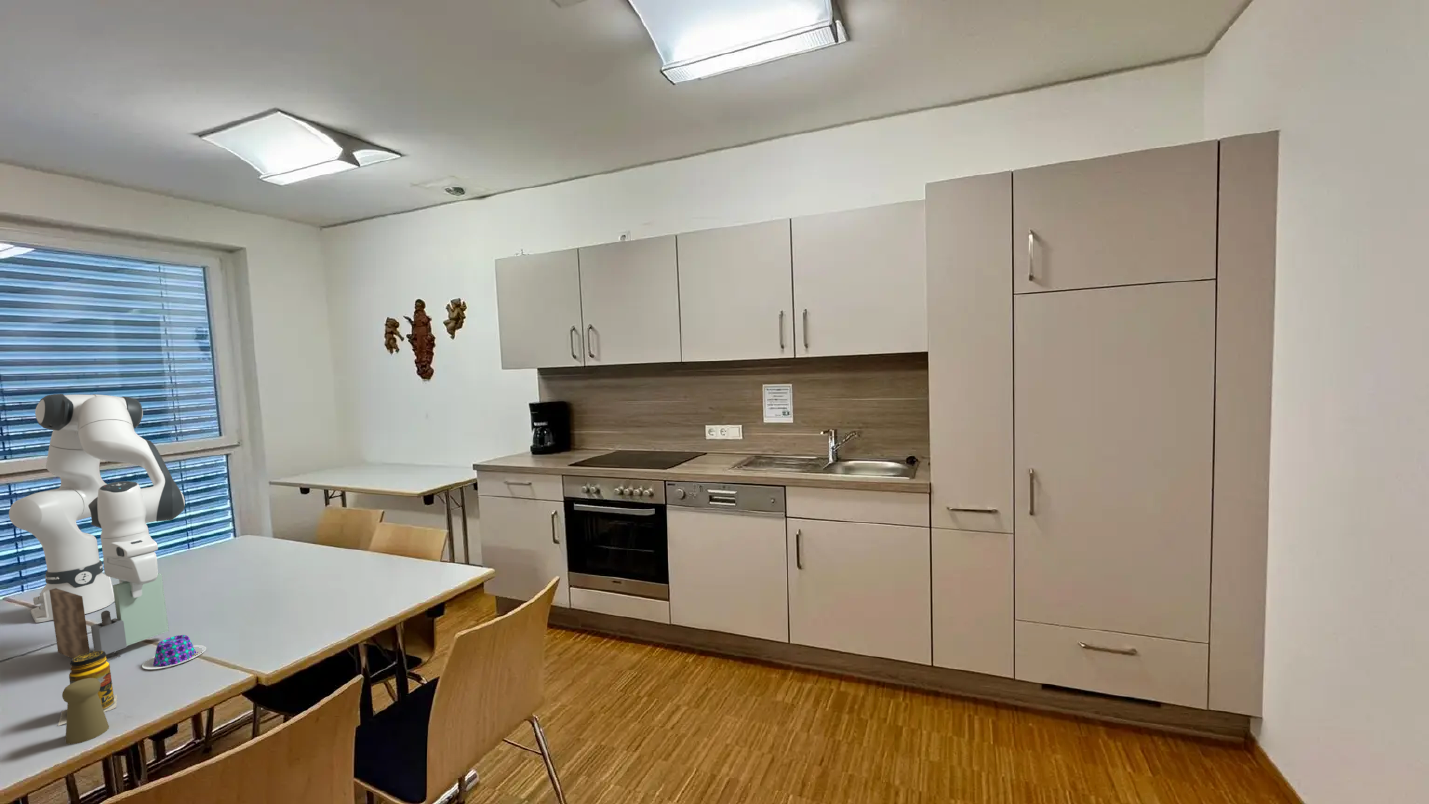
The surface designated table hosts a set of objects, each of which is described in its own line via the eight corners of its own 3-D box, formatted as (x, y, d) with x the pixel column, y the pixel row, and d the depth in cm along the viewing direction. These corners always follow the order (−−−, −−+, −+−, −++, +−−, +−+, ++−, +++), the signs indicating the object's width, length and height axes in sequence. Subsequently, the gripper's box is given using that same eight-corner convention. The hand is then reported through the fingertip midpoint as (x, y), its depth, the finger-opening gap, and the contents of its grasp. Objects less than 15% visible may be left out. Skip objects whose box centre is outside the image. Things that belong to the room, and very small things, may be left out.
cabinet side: (58, 652, 155) (49, 590, 154) (85, 643, 160) (77, 582, 159) (91, 666, 146) (83, 600, 145) (120, 656, 151) (112, 592, 150)
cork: (117, 725, 121) (111, 673, 120) (83, 744, 115) (76, 690, 114) (91, 724, 121) (84, 673, 120) (56, 744, 115) (48, 690, 114)
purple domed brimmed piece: (190, 644, 156) (187, 626, 156) (216, 651, 152) (214, 632, 151) (131, 667, 145) (129, 647, 145) (158, 675, 141) (156, 654, 140)
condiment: (116, 708, 127) (109, 655, 126) (57, 726, 121) (50, 671, 120) (117, 695, 132) (110, 644, 131) (61, 712, 126) (54, 659, 125)
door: (94, 652, 149) (85, 591, 148) (162, 629, 162) (155, 572, 160) (102, 655, 147) (94, 593, 146) (170, 631, 160) (163, 574, 158)
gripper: (92, 544, 155) (98, 595, 156) (128, 552, 146) (135, 605, 147) (123, 537, 161) (130, 586, 162) (160, 544, 152) (167, 596, 153)
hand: (133, 595), depth 154 cm, fingers closed on door, 2 cm apart
